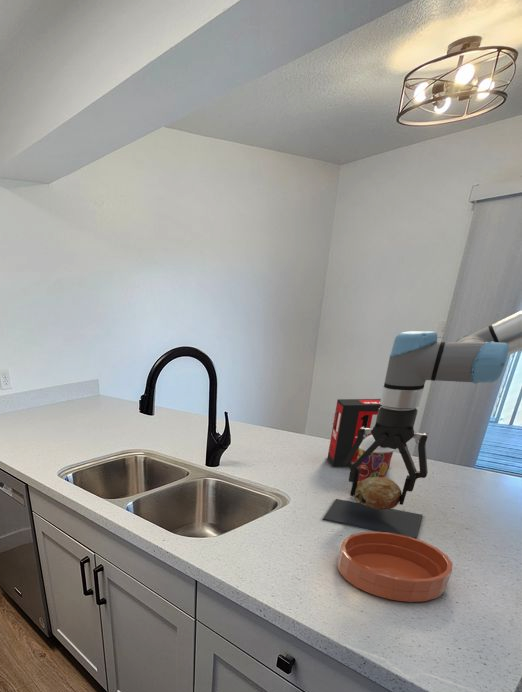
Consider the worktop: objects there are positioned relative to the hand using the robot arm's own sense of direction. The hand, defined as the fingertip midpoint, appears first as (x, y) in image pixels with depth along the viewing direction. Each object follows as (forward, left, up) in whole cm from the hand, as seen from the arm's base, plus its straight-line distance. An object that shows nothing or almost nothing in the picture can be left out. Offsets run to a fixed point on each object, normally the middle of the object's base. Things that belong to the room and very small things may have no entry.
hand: (376, 498), depth 107 cm
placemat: (0, 0, -5) cm, 5 cm away
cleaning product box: (+11, -41, -6) cm, 43 cm away
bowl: (-7, +26, -5) cm, 27 cm away
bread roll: (0, 0, -1) cm, 1 cm away
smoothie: (+4, -15, -6) cm, 16 cm away
